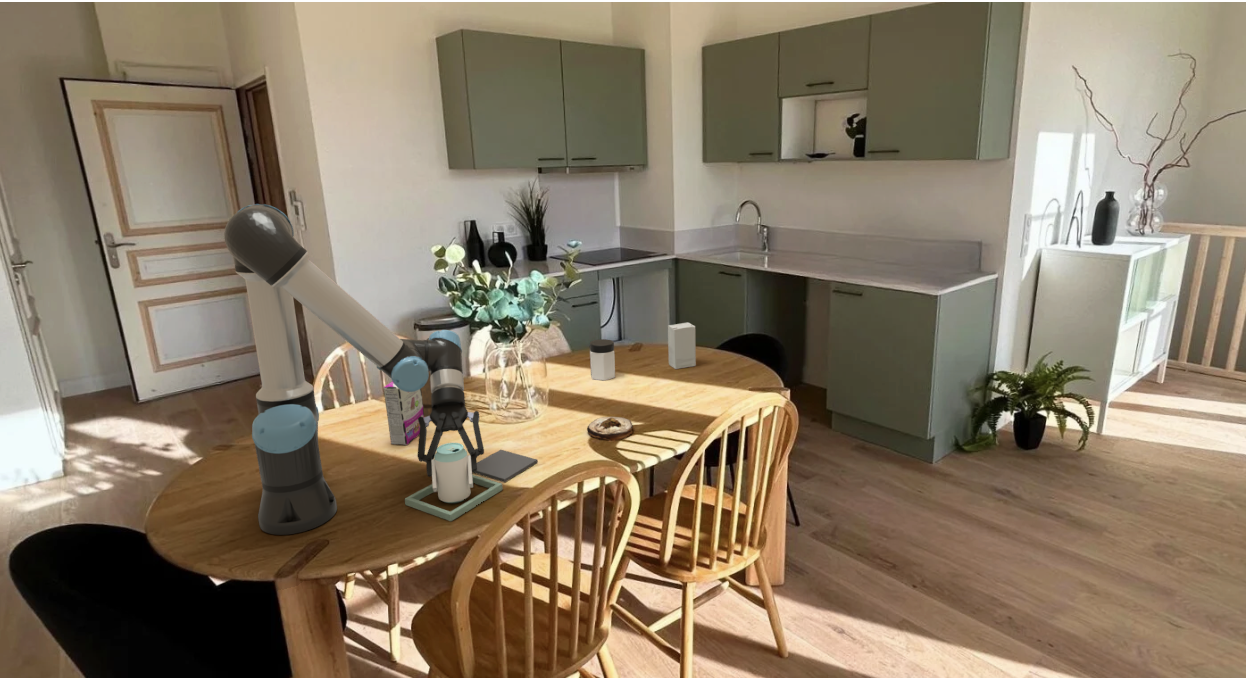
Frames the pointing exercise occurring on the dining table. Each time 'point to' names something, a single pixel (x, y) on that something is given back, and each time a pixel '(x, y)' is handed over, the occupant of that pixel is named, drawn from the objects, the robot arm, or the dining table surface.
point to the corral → (450, 516)
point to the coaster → (504, 465)
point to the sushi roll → (610, 428)
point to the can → (452, 473)
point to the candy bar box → (403, 413)
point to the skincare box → (681, 345)
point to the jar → (602, 359)
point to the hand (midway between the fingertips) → (453, 487)
